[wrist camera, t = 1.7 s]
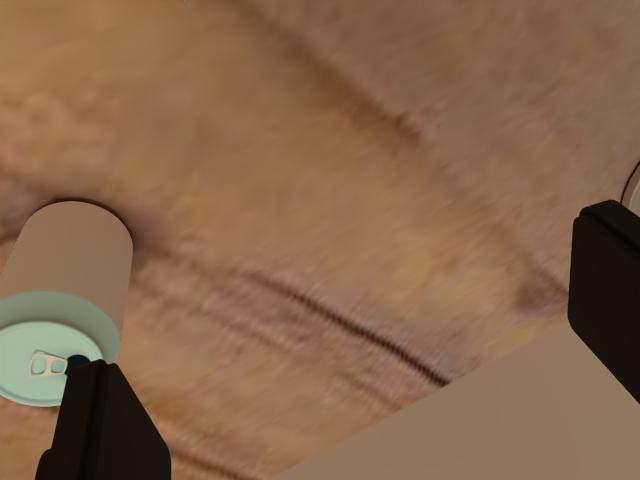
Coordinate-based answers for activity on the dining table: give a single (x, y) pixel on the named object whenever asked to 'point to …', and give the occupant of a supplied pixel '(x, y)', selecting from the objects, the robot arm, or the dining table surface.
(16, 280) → the can
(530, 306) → the dining table surface
